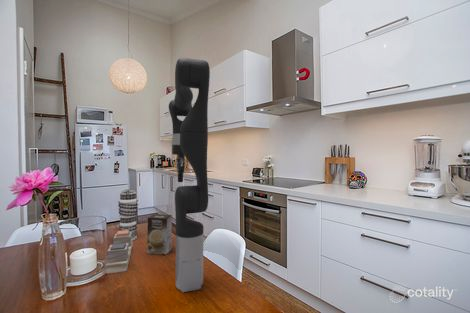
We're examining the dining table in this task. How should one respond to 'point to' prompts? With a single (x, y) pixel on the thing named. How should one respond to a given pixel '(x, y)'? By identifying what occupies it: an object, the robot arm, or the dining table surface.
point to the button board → (119, 255)
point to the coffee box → (159, 234)
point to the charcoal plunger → (118, 246)
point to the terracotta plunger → (123, 233)
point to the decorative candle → (128, 211)
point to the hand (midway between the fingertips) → (180, 181)
